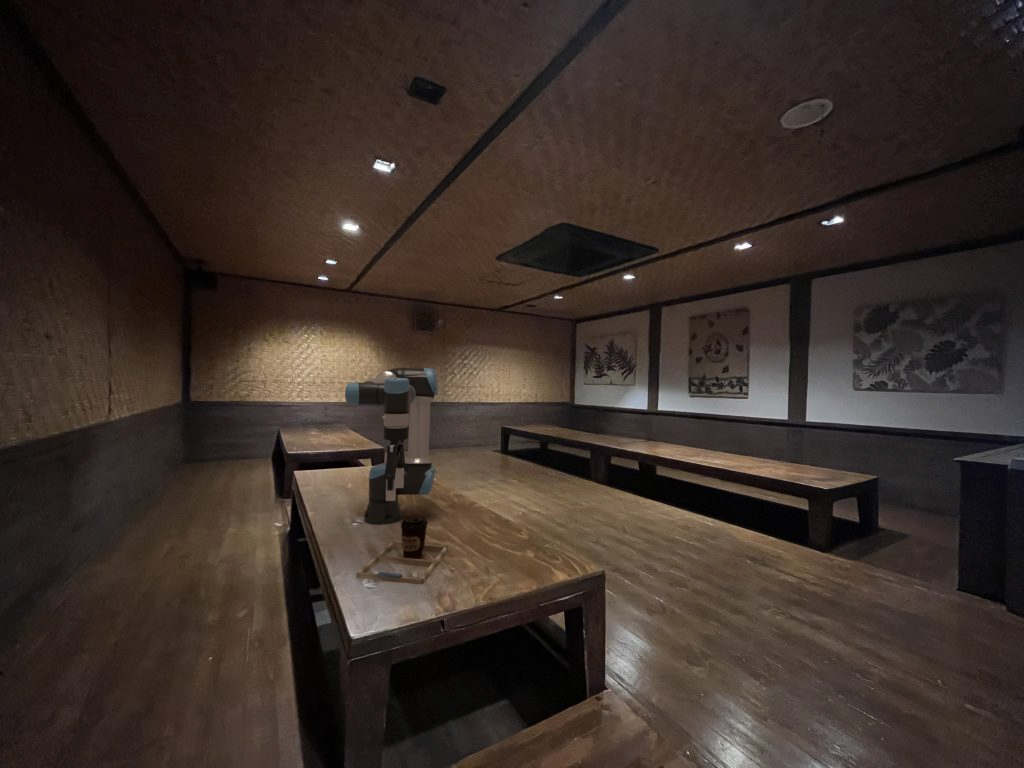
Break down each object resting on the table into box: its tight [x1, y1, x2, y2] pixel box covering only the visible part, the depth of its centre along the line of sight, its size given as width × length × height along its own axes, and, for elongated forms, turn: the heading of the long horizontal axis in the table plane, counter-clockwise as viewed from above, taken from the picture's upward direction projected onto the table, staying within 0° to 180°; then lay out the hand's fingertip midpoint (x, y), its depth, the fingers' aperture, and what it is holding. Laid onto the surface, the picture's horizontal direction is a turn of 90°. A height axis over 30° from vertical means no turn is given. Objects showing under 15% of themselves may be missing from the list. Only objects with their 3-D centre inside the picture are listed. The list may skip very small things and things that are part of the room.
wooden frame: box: [355, 540, 449, 585], centre depth 123 cm, size 23×20×3 cm
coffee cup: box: [400, 515, 428, 560], centre depth 128 cm, size 9×8×13 cm
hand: (395, 493), depth 124 cm, fingers open, 13 cm apart
